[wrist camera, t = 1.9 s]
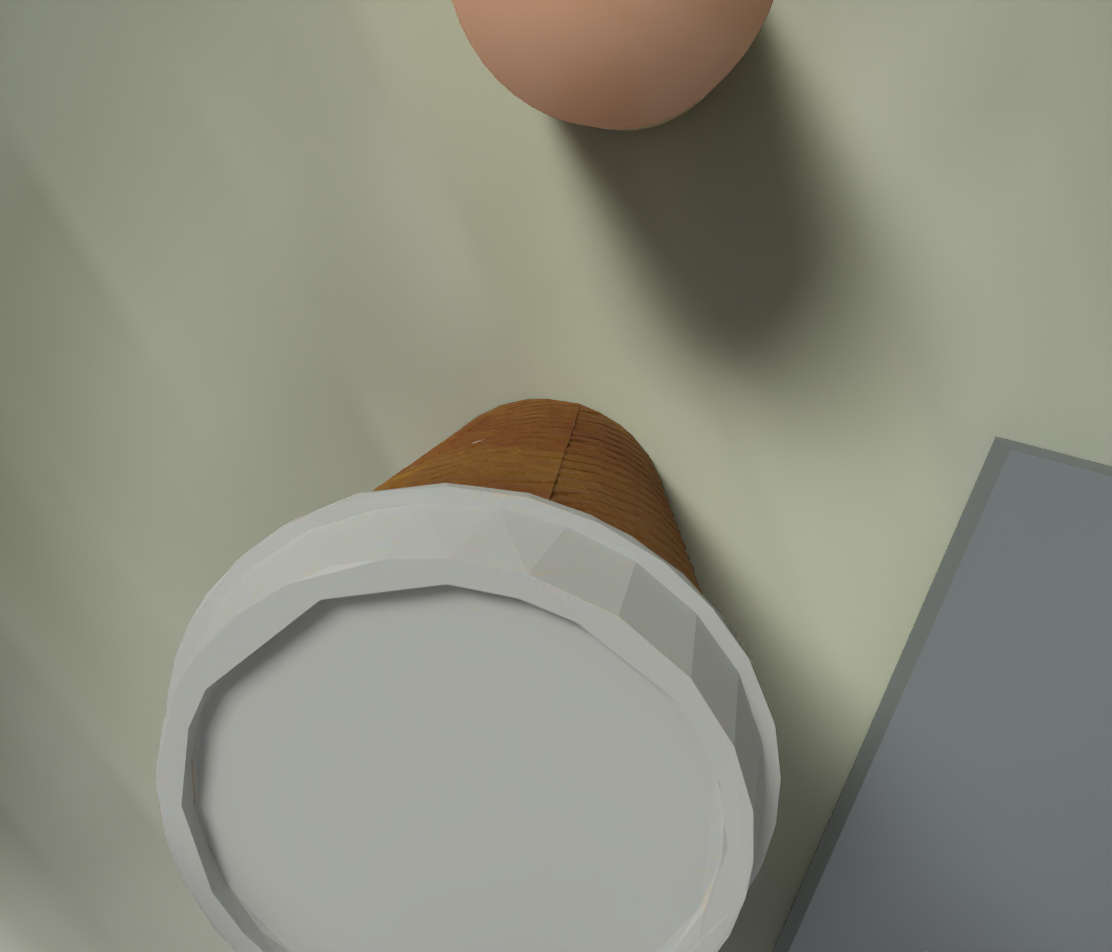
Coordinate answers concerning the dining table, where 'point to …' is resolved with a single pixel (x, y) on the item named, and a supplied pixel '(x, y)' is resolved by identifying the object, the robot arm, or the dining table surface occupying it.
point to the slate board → (987, 740)
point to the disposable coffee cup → (472, 715)
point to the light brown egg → (611, 53)
